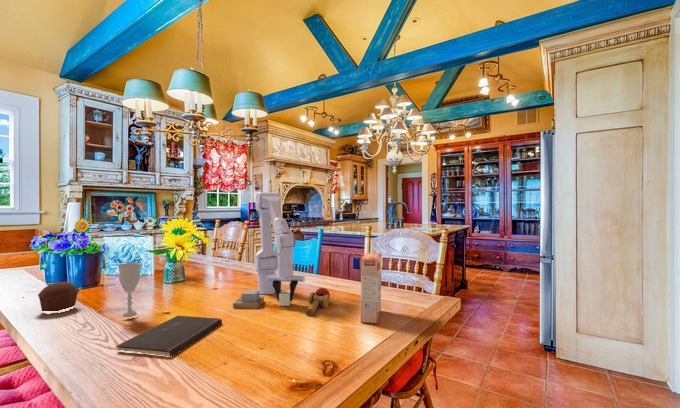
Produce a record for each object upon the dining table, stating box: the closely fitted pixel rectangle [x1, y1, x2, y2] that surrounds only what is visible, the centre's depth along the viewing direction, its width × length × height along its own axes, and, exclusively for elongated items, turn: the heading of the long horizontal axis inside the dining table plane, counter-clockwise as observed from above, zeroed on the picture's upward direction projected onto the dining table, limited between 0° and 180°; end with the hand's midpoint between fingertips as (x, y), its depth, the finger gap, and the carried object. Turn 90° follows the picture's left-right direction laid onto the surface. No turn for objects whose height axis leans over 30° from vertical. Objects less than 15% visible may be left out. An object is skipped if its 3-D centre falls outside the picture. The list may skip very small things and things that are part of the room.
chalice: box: [117, 262, 143, 317], centre depth 106 cm, size 7×7×18 cm
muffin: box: [37, 281, 80, 312], centre depth 114 cm, size 12×11×10 cm
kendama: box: [304, 287, 331, 317], centre depth 116 cm, size 8×6×18 cm
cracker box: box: [360, 252, 382, 325], centre depth 107 cm, size 14×6×21 cm, turn 168°
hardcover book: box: [115, 315, 223, 357], centre depth 90 cm, size 16×23×2 cm
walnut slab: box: [232, 295, 265, 310], centre depth 120 cm, size 9×9×2 cm
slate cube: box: [240, 289, 261, 302], centre depth 120 cm, size 6×6×3 cm
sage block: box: [278, 290, 293, 307], centre depth 120 cm, size 4×4×4 cm
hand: (285, 300), depth 120 cm, fingers closed on sage block, 4 cm apart
